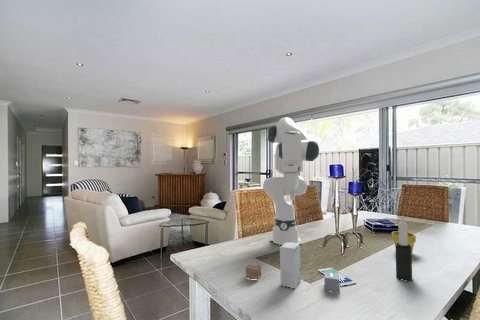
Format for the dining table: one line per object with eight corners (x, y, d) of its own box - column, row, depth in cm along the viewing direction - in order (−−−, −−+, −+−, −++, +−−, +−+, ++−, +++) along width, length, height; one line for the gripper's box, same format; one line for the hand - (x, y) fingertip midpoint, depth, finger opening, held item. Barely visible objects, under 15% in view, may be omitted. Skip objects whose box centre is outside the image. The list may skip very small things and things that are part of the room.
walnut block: (249, 274, 102) (249, 262, 103) (261, 276, 101) (260, 263, 101) (246, 279, 98) (245, 266, 98) (258, 281, 96) (257, 268, 96)
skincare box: (295, 289, 89) (294, 249, 90) (279, 285, 92) (279, 246, 93) (301, 280, 97) (300, 242, 97) (286, 277, 100) (286, 240, 100)
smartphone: (331, 267, 108) (357, 282, 93) (331, 269, 108) (357, 284, 93) (317, 269, 105) (341, 285, 91) (317, 271, 105) (341, 287, 91)
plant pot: (393, 254, 124) (392, 234, 124) (391, 248, 133) (390, 230, 133) (418, 257, 119) (417, 237, 119) (414, 251, 128) (413, 232, 129)
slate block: (324, 285, 93) (324, 271, 93) (338, 287, 91) (338, 273, 91) (324, 291, 88) (324, 277, 88) (339, 293, 87) (339, 279, 87)
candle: (397, 274, 101) (396, 214, 102) (412, 277, 98) (410, 215, 99) (395, 278, 97) (394, 216, 98) (411, 282, 94) (409, 217, 95)
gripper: (288, 167, 117) (288, 196, 117) (281, 168, 97) (281, 202, 97) (301, 167, 115) (302, 196, 115) (297, 168, 95) (298, 203, 95)
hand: (292, 199), depth 106 cm, fingers closed
